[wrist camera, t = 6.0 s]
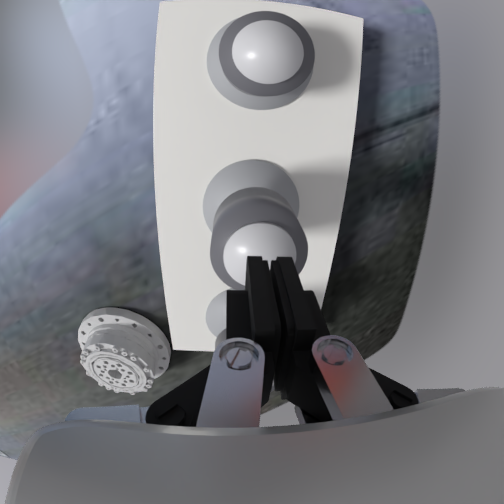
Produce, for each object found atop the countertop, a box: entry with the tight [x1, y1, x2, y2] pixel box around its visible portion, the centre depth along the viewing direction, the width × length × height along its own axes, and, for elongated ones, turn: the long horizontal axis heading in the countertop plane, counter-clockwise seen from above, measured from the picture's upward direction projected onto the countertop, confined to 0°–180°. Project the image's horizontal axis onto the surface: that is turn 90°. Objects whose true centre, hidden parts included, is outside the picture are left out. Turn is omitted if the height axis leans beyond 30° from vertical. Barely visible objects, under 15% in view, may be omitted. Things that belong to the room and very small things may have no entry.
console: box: [153, 0, 363, 351], centre depth 20 cm, size 26×12×3 cm, turn 177°
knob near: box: [219, 11, 315, 97], centre depth 13 cm, size 4×4×3 cm
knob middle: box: [210, 187, 308, 290], centre depth 15 cm, size 4×4×3 cm
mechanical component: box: [78, 307, 171, 395], centre depth 26 cm, size 10×4×10 cm
